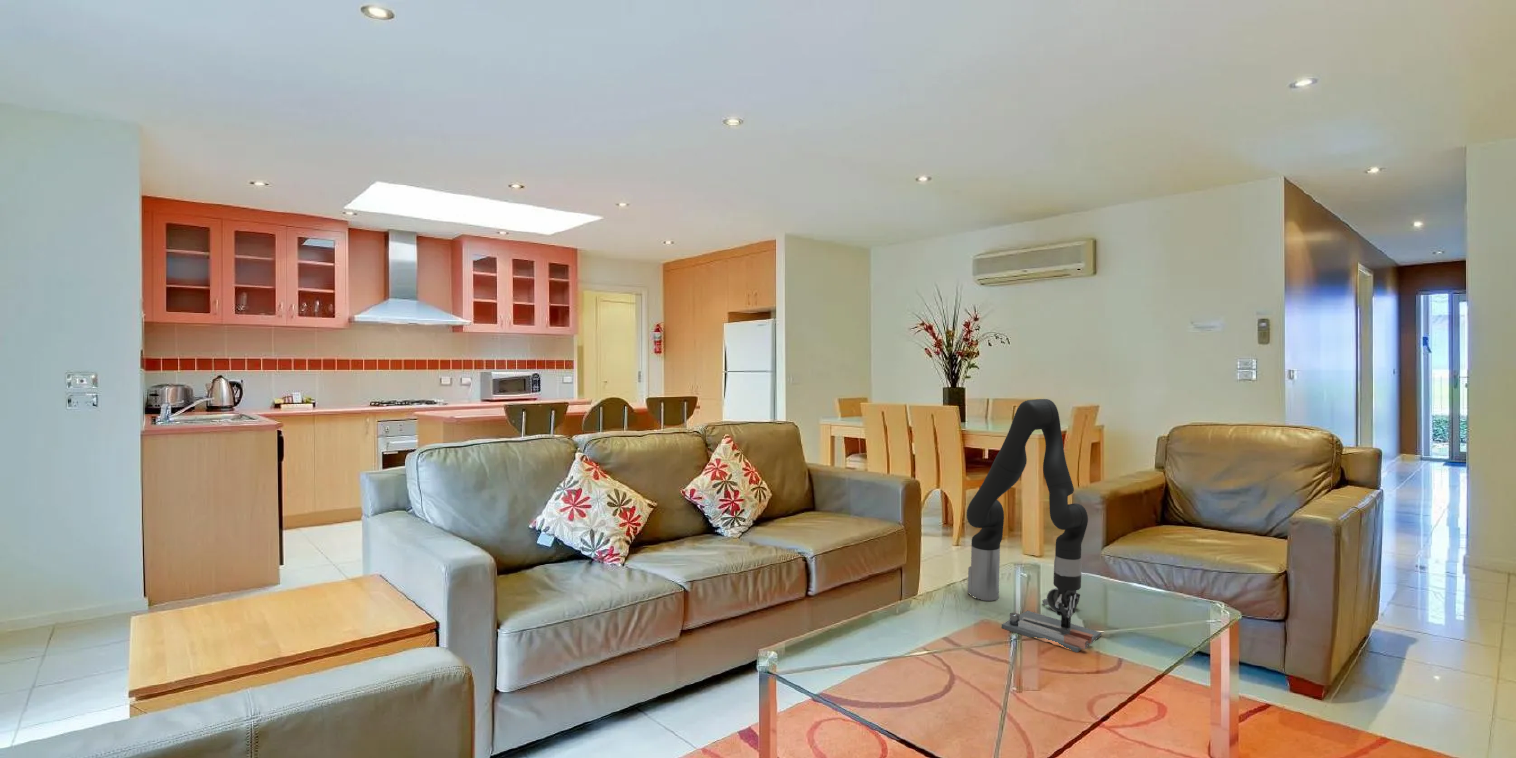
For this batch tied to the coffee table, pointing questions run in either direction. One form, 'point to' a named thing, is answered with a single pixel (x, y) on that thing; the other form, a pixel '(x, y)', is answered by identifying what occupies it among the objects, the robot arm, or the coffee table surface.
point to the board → (1050, 621)
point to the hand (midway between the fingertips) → (1065, 628)
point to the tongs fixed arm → (1048, 632)
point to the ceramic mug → (1051, 598)
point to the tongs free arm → (1062, 629)
